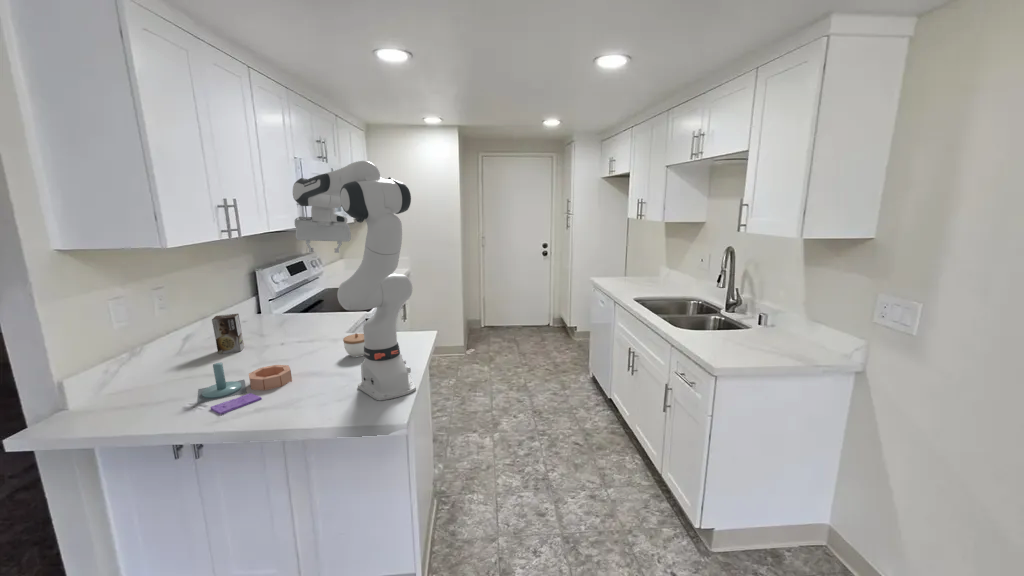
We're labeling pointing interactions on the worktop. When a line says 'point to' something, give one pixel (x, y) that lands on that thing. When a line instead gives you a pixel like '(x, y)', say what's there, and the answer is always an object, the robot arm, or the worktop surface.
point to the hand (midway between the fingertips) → (324, 252)
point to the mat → (203, 400)
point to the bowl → (270, 377)
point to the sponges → (235, 403)
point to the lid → (221, 384)
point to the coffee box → (228, 333)
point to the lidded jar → (354, 344)
